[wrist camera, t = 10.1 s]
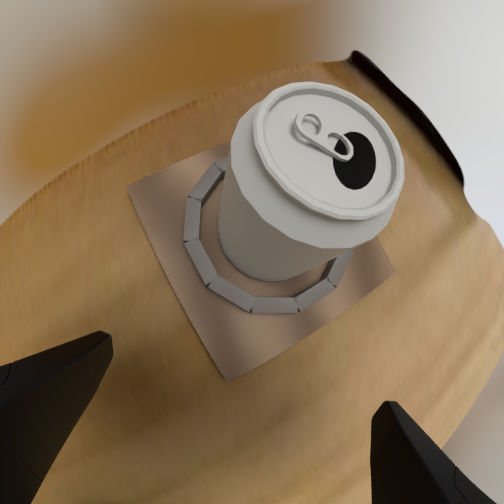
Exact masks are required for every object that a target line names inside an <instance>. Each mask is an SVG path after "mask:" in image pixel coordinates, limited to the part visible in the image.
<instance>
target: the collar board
mask: <svg viewBox="0 0 504 504" xmlns="http://www.w3.org/2000/svg"><path fill="white" fill-rule="evenodd" d="M230 143H231V141H229V142H226V143H223V144H221V145H218V146H216V147H213V148H211V149H208V150H206V151H203V152H201V153H198V154H196V155H194V156H191V157H189V158H187V159H184V160H182V161H180V162H177V163H175V164H173V165H171V166H168V167H166V168H164V169H162V170H160V171H158V172H155V173H153V174H151V175H149V176H147V177H145V178H143V179H141V180H139V181H137V182H135V183H133V184H131V185H129V186H127V190H128V192H129V195H130V197H131V199H132V202H133V204H134V207H135V209H136V211H137V213H138V216H139V218H140V220H141V223H142V225H143V227H144V229H145V231H146V234H147V236H148V238H149V240H150V242H151V244H152V247H153V249H154V251H155V253H156V255H157V257H158V259H159V261H160V263H161V265H162V267H163V269H164V271H165V273H166V275H167V277H168V279H169V281H170V283H171V285H172V287H173V289H174V291H175V293H176V295H177V297H178V299H179V301H180V303H181V304H182V306H183V308H184V310H185V312H186V314H187V316H188V317H189V319H190V321H191V323H192V325H193V327H194V328H195V330H196V332H197V334H198V335H199V337H200V339H201V341H202V342H203V344H204V346H205V348H206V349H207V351H208V353H209V354H210V356H211V358H212V359H213V361H214V363H215V364H216V366H217V368H218V369H219V371H220V373H221V374H222V376H223V378H224V379H225V381H226V382H227V384H228V383H230V382H231V381H233V380H235V379H237V378H239V377H241V376H242V375H244V374H246V373H248V372H249V371H251V370H253V369H255V368H256V367H258V366H260V365H261V364H263V363H265V362H267V361H268V360H270V359H272V358H273V357H275V356H277V355H278V354H280V353H281V352H283V351H285V350H286V349H288V348H290V347H291V346H293V345H294V344H296V343H297V342H299V341H301V340H302V339H304V338H305V337H307V336H308V335H310V334H311V333H313V332H314V331H316V330H317V329H319V328H320V327H322V326H323V325H325V324H326V323H328V322H329V321H331V320H332V319H334V318H335V317H336V316H338V315H339V314H341V313H342V312H344V311H345V310H346V309H348V308H349V307H351V306H352V305H353V304H355V303H356V302H357V301H359V300H360V299H361V298H363V297H364V296H366V295H367V294H368V293H370V292H371V291H372V290H373V289H375V288H376V287H377V286H379V285H380V284H381V283H383V282H384V281H385V280H386V279H388V278H389V277H390V276H392V275H393V274H394V273H395V270H394V268H393V266H392V264H391V262H390V260H389V258H388V256H387V254H386V252H385V251H384V249H383V247H382V245H381V243H380V241H379V240H378V238H377V236H375V237H374V238H373V239H371V240H369V241H367V242H365V243H363V244H361V245H359V246H357V247H355V248H353V249H351V250H349V251H347V252H345V253H343V254H341V255H339V256H337V257H335V258H333V259H331V260H329V261H327V262H325V263H323V264H321V265H319V266H317V267H315V268H313V269H311V270H308V271H306V272H304V273H302V274H300V275H298V276H295V277H293V278H290V279H288V280H285V281H272V282H266V281H262V280H259V279H255V278H252V277H249V276H248V275H246V274H245V273H243V272H242V271H240V270H239V269H237V268H236V267H235V266H234V265H233V264H232V263H231V261H230V260H229V259H228V257H227V256H226V255H225V254H224V252H223V249H222V246H221V244H220V241H219V238H218V215H219V209H220V202H221V196H222V190H223V184H224V178H225V172H226V166H227V160H228V154H229V149H230Z"/></svg>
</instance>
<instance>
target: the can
mask: <svg viewBox="0 0 504 504" xmlns="http://www.w3.org/2000/svg"><path fill="white" fill-rule="evenodd" d="M403 184H404V160H403V157H402V153H401V150H400V147H399V144H398V141H397V139H396V138H395V136H394V134H393V133H392V131H391V129H390V128H389V126H388V125H387V123H386V122H385V121H384V120H383V119H382V118H381V116H380V115H379V114H378V113H377V112H376V111H375V110H374V109H373V108H372V107H371V106H369V105H368V104H367V103H365V102H364V101H362V100H361V99H359V98H358V97H357V96H355V95H354V94H351V93H349V92H347V91H345V90H342V89H340V88H338V87H335V86H332V85H327V84H322V83H316V82H299V83H290V84H287V85H285V86H282V87H280V88H277V89H275V90H273V91H272V92H271V93H270V94H269V95H268V96H267V97H266V98H265V99H264V100H263V101H261V102H259V103H257V104H255V105H254V106H253V107H252V108H251V109H250V110H249V111H248V112H247V113H246V114H245V115H244V116H243V117H242V118H241V119H240V120H239V122H238V124H237V127H236V129H235V132H234V134H233V137H232V140H231V143H230V149H229V154H228V160H227V166H226V172H225V178H224V184H223V190H222V196H221V202H220V209H219V215H218V238H219V241H220V244H221V246H222V249H223V252H224V254H225V255H226V256H227V257H228V259H229V260H230V261H231V263H232V264H233V265H234V266H235V267H236V268H237V269H239V270H240V271H242V272H243V273H245V274H246V275H248V276H249V277H252V278H255V279H259V280H262V281H266V282H272V281H285V280H288V279H290V278H293V277H295V276H298V275H300V274H302V273H304V272H306V271H308V270H311V269H313V268H315V267H317V266H319V265H321V264H323V263H325V262H327V261H329V260H331V259H333V258H335V257H337V256H339V255H341V254H343V253H345V252H347V251H349V250H351V249H353V248H355V247H357V246H359V245H361V244H363V243H365V242H367V241H369V240H371V239H373V238H374V237H375V236H376V235H377V234H378V233H379V232H380V231H381V230H382V229H383V228H384V227H385V226H386V225H387V224H388V223H389V220H390V218H391V215H392V213H393V210H394V208H395V205H396V201H397V200H398V198H399V195H400V192H401V190H402V187H403Z"/></svg>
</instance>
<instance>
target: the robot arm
mask: <svg viewBox="0 0 504 504" xmlns="http://www.w3.org/2000/svg"><path fill="white" fill-rule="evenodd" d="M112 358H113V345H112V337H111V335H110V334H108V333H106V332H103V331H96V332H94V333H91V334H88V335H86V336H83V337H80V338H78V339H75V340H72V341H70V342H67V343H64V344H61V345H59V346H56V347H53V348H51V349H48V350H45V351H42V352H40V353H37V354H34V355H31V356H28V357H26V358H23V359H20V360H17V361H14V362H13V363H9V364H6V365H3V366H0V504H31V503H32V501H33V499H34V497H35V495H36V493H37V491H38V489H39V487H40V486H41V484H42V482H43V480H44V478H45V476H46V474H47V473H48V471H49V469H50V467H51V466H52V464H53V462H54V460H55V459H56V457H57V455H58V453H59V452H60V450H61V448H62V447H63V445H64V443H65V442H66V440H67V438H68V437H69V435H70V433H71V432H72V430H73V428H74V427H75V425H76V423H77V422H78V420H79V419H80V417H81V415H82V414H83V412H84V411H85V409H86V407H87V406H88V404H89V403H90V401H91V399H92V398H93V396H94V394H95V393H96V391H97V389H98V387H99V384H100V382H101V380H102V378H103V376H104V374H105V372H106V370H107V368H108V366H109V364H110V362H111V360H112ZM370 466H371V490H372V504H496V503H495V502H494V501H493V500H492V499H490V498H489V497H488V496H487V495H486V494H485V493H484V492H482V491H481V490H480V489H479V488H478V487H477V486H476V485H475V484H473V483H472V482H471V481H470V480H469V479H468V478H467V477H466V476H465V475H464V474H463V473H462V472H461V471H460V470H459V468H458V467H457V466H455V464H454V463H453V462H452V461H451V460H450V459H449V458H448V457H447V456H446V454H445V453H444V452H443V451H442V450H441V449H440V448H439V447H438V446H437V445H436V444H435V443H434V441H433V440H432V439H431V438H430V437H429V436H428V435H427V434H426V433H425V432H424V431H423V430H422V429H421V427H420V426H419V425H418V424H417V423H416V422H415V421H414V420H413V419H412V418H411V417H410V416H409V415H408V413H407V412H406V411H405V410H404V409H403V408H402V407H401V406H400V405H399V404H398V403H397V402H396V401H385V402H383V403H382V405H381V406H380V407H379V409H378V410H377V411H376V413H375V414H374V415H373V417H372V421H371V450H370Z"/></svg>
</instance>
